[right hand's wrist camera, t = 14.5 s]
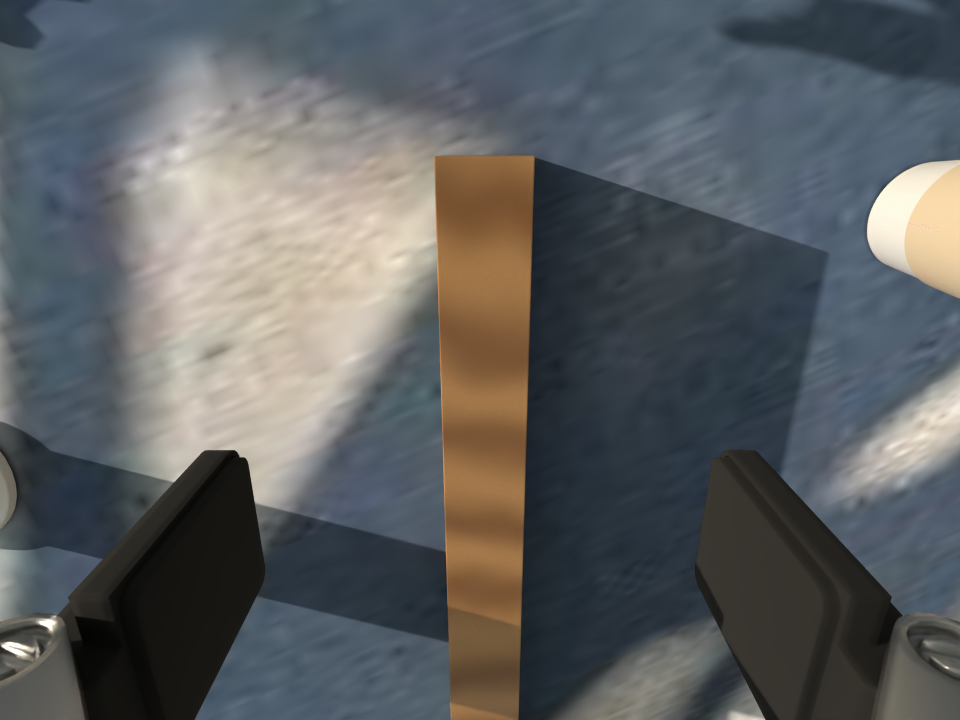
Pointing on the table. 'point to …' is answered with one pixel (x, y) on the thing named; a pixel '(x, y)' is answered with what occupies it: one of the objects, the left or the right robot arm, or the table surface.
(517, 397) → the beam
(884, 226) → the coffee cup
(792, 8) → the table surface
